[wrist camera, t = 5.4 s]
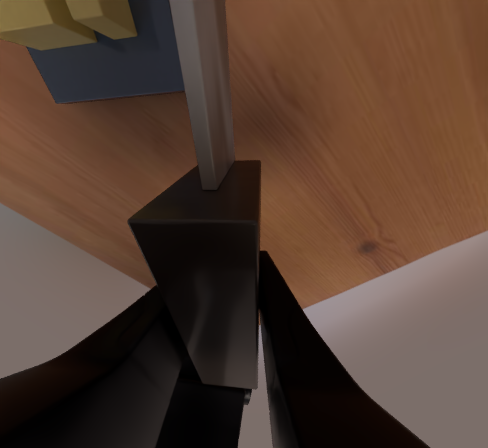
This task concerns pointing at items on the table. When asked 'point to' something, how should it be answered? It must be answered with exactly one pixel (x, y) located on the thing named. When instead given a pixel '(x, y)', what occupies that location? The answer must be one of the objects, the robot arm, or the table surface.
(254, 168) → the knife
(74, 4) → the butter slice
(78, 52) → the butter dish
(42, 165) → the table surface
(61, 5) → the butter block
